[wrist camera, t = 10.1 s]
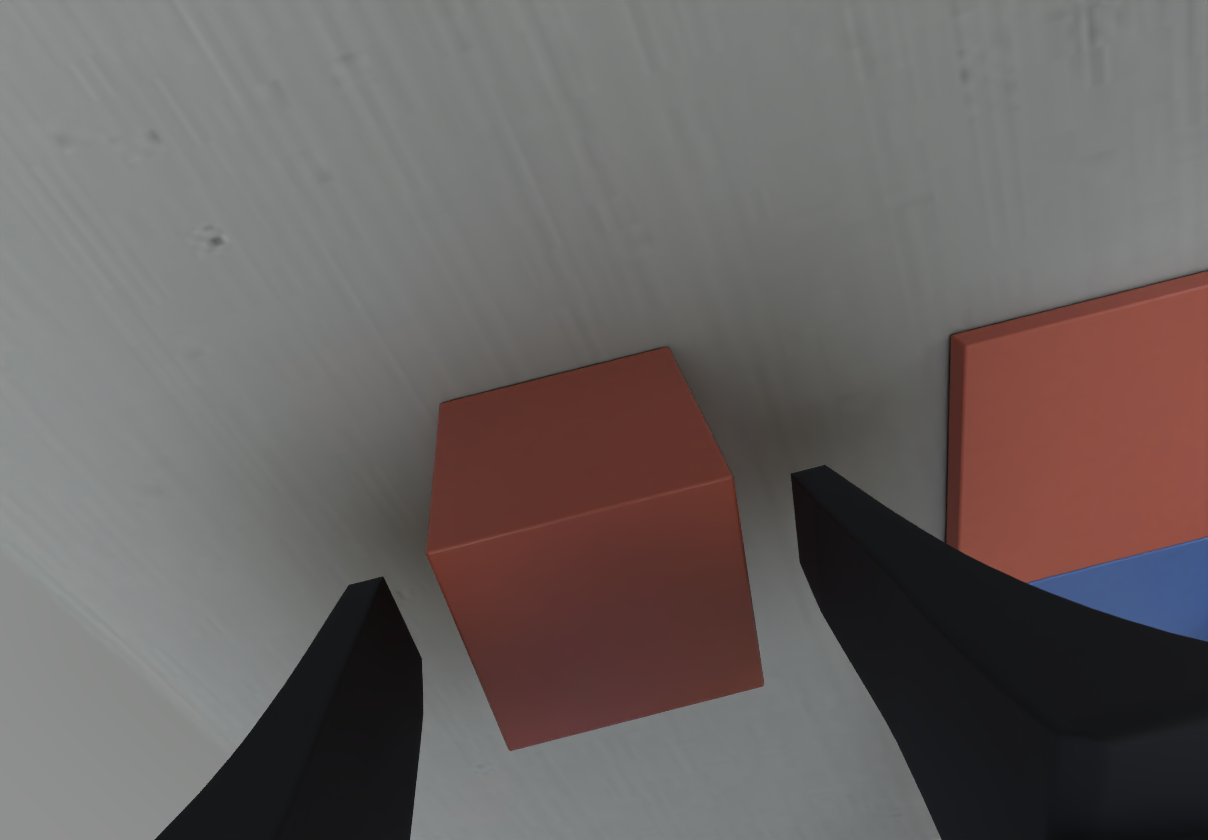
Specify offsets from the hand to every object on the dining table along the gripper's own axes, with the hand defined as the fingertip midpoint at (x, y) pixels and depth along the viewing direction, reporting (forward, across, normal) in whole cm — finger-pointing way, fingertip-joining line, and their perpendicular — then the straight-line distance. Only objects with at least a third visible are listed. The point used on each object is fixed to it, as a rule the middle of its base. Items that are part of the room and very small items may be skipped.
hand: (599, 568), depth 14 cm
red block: (+3, 0, 0) cm, 3 cm away
